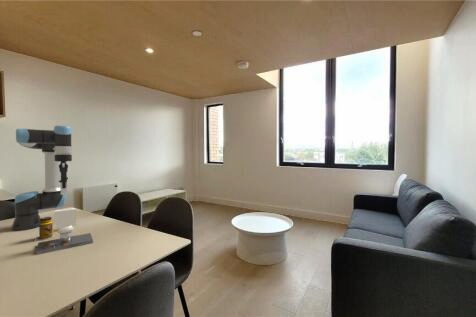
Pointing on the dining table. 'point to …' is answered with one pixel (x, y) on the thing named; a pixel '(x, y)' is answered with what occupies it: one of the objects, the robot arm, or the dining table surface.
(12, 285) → the dining table surface
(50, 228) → the condiment
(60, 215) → the lever handle
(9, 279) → the dining table surface
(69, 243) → the base plate
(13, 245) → the dining table surface
